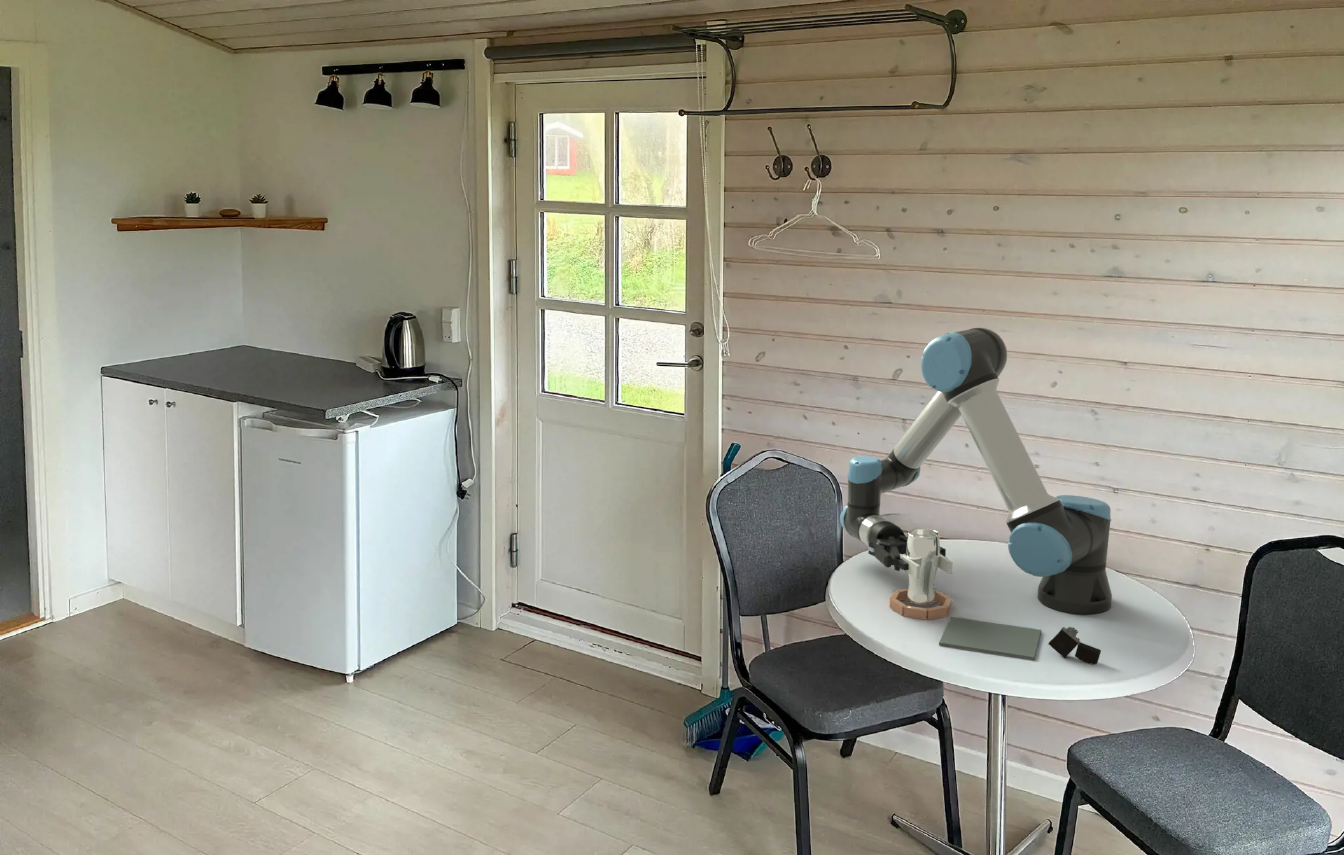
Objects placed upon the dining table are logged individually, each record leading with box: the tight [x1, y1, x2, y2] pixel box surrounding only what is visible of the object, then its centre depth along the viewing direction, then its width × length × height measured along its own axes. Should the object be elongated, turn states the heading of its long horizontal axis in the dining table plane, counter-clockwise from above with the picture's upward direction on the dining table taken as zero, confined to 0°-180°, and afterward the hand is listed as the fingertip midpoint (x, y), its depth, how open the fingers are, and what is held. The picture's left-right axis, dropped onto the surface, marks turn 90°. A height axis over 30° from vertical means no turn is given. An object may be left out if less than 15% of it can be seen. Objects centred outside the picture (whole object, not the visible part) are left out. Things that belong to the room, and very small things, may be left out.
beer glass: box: [905, 527, 941, 606], centre depth 243 cm, size 7×7×15 cm
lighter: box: [1047, 626, 1102, 665], centre depth 220 cm, size 9×2×6 cm
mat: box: [938, 616, 1042, 661], centre depth 229 cm, size 18×14×1 cm
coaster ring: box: [889, 587, 953, 621], centre depth 245 cm, size 12×12×2 cm
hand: (934, 569), depth 238 cm, fingers closed on beer glass, 7 cm apart
